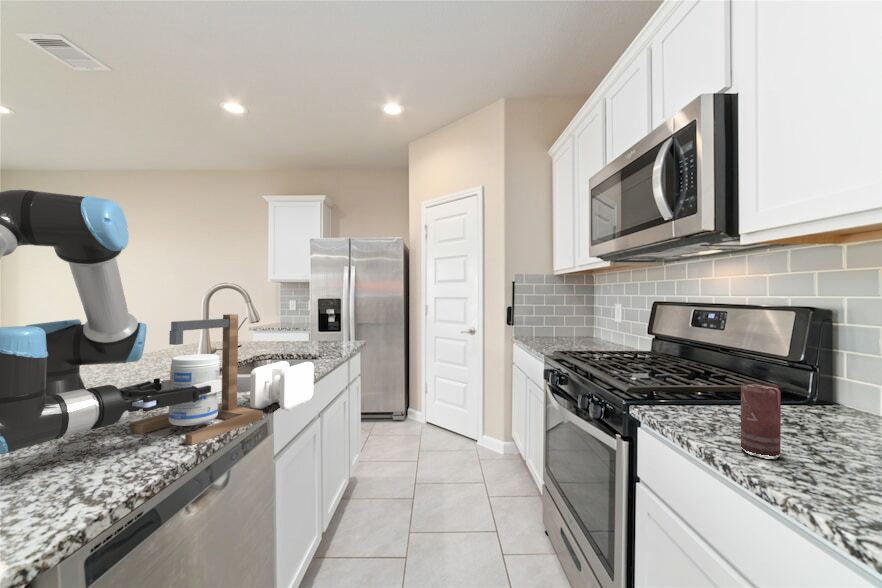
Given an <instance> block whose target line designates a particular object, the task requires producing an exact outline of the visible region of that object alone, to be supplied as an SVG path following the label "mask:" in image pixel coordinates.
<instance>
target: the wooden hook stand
mask: <svg viewBox="0 0 882 588" xmlns="http://www.w3.org/2000/svg"><path fill="white" fill-rule="evenodd" d="M222 315H223V316H222V319H229V327H222V354H221V355H222V358H221V359H222V361H221V362H222V363H221V364H222V365H221V366H222V368H221V379H222V391H221V403H218V415H217V417H216V418H215V419H220V420H222V421H221V422H217V423H214V424H211V425H209V426H206V427H202V428H199V429H197V430H194V431H191V432H188V433H185V435H184V436H185V438H184V443H185V444H184V445H189V446H194V445H197V444H199V443H201V442H205V441H207V440H209V439H212V438H215V437H218V436H220V435H223V434H226V433H228V432H232V431H233V430H237V429H239V428H242V427H244V426H247V425H250V424H252V423H255V422H257V421H260V420H263V410H261V409H255V408H247V407H241V406H238V360H239V359H238V355H239V351H238V350H239V349H238V348H239V347H238V346H239V314H235V313H233V314H232V313H231V314H230V313H229V314H222ZM169 426H173V424H171V423H170V422H169V411H168V412H165V413H162V414H161V413H160V414H157V415H154V416H150V417H147V418H146V417H145V418H143V419H139V420H136V421H131V422H130V423H129V432H130V433H134V434H139V435H144V434H146V433H151V432H155V431H156V430H160V429H163V428H166V427H169Z"/></svg>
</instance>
